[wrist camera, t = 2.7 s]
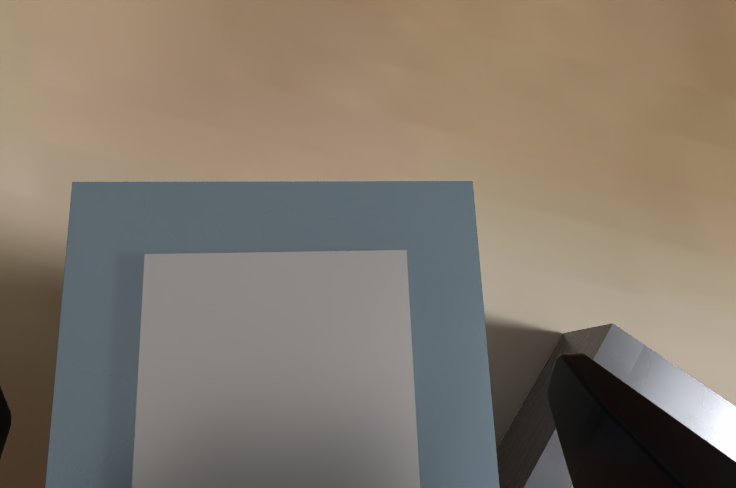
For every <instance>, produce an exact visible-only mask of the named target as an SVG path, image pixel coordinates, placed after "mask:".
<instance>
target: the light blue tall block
mask: <svg viewBox="0 0 736 488" xmlns="http://www.w3.org/2000/svg"><path fill="white" fill-rule="evenodd" d="M45 488H500V486H499V475H498V464H497V452H496V441H495V430H494V418H493V407H492V396H491V385H490V373H489V362H488V351H487V339H486V328H485V317H484V305H483V294H482V283H481V272H480V260H479V249H478V238H477V226H476V215H475V204H474V192H473V181H379V182H72V192H71V203H70V214H69V225H68V237H67V248H66V259H65V271H64V282H63V293H62V304H61V316H60V327H59V338H58V350H57V361H56V372H55V383H54V395H53V406H52V417H51V429H50V440H49V451H48V462H47V474H46V485H45Z"/></svg>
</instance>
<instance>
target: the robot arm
mask: <svg viewBox="0 0 736 488" xmlns="http://www.w3.org/2000/svg"><path fill="white" fill-rule="evenodd" d="M547 398H548V403H549V406H550V410H551V413H552V417H553V420H554V424H555V427H556V431H557V434H558V437H559V441H560V444H561V448H562V451H563V455H564V458H565V462H566V465H567V468H568V472H569V475H570V478H571V481H572V484H573V487H574V488H736V462H735V461H734V460H732V459H731V458H730V457H728V456H727V455H726V454H724V453H723V452H721V451H720V450H719V449H717V448H716V447H714V446H713V445H712V444H710V443H709V442H707V441H706V440H705V439H703V438H702V437H700V436H699V435H698V434H696V433H695V432H693V431H692V430H691V429H689V428H688V427H686V426H685V425H684V424H682V423H681V422H679V421H678V420H677V419H675V418H674V417H672V416H671V415H670V414H668V413H667V412H665V411H664V410H663V409H661V408H660V407H658V406H657V405H656V404H654V403H653V402H651V401H650V400H649V399H647V398H646V397H644V396H643V395H642V394H640V393H639V392H637V391H636V390H635V389H633V388H632V387H630V386H629V385H628V384H626V383H625V382H623V381H622V380H621V379H619V378H618V377H616V376H615V375H614V374H612V373H611V372H609V371H608V370H607V369H605V368H604V367H602V366H601V365H600V364H598V363H597V362H595V361H594V360H593V359H591V358H590V357H588V356H587V355H585V354H583V353H562V354H560V355H558V357H557V358H556V360H555V364H554V367H553V371H552V374H551V377H550V381H549V384H548V388H547ZM10 426H11V412H10V409H9V407H8V404H7V402H6V399H5V397H4V394H3V392H2V389H1V387H0V458H1V455H2V452H3V449H4V446H5V443H6V439H7V436H8V433H9V430H10Z"/></svg>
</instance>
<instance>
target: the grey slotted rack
mask: <svg viewBox="0 0 736 488" xmlns="http://www.w3.org/2000/svg"><path fill="white" fill-rule="evenodd" d="M562 353H583V354H585V355H587V356H588V357H590V358H591V359H593V360H594V361H595V362H597V363H598V364H600V365H601V366H602V367H604V368H605V369H607V370H608V371H609V372H611V373H612V374H614V375H615V376H616V377H618V378H619V379H621V380H622V381H623V382H625V383H626V384H628V385H629V386H630V387H632V388H633V389H635V390H636V391H637V392H639V393H640V394H642V395H643V396H644V397H646V398H647V399H649V400H650V401H651V402H653V403H654V404H656V405H657V406H658V407H660V408H661V409H663V410H664V411H665V412H667V413H668V414H670V415H671V416H672V417H674V418H675V419H677V420H678V421H679V422H681V423H682V424H684V425H685V426H686V427H688V428H689V429H691V430H692V431H693V432H695V433H696V434H698V435H699V436H700V437H702V438H703V439H705V440H706V441H707V442H709V443H710V444H712V445H713V446H714V447H716V448H717V449H719V450H720V451H721V452H723V453H724V454H726V455H727V456H728V457H730V458H731V459H732V460H734V461H735V462H736V407H735V406H734V405H732V404H731V403H729V402H728V401H726V400H725V399H724V398H722V397H721V396H719V395H718V394H716V393H715V392H713V391H712V390H710V389H709V388H707V387H706V386H704V385H703V384H701V383H700V382H698V381H697V380H696V379H694V378H693V377H691V376H690V375H688V374H687V373H685V372H684V371H682V370H681V369H679V368H678V367H676V366H675V365H673V364H672V363H670V362H669V361H668V360H666V359H665V358H663V357H662V356H660V355H659V354H657V353H656V352H654V351H653V350H651V349H650V348H648V347H647V346H645V345H644V344H643V343H641V342H640V341H638V340H637V339H635V338H634V337H632V336H631V335H629V334H628V333H626V332H625V331H623V330H622V329H620V328H619V327H617V326H616V325H615V324H608V325H603V326H598V327H593V328H587V329H582V330H577V331H572V332H567V333H564V334H563V336H562V337H561V339H560V341H559V343H558V344H557V346H556V348H555V350H554V351H553V353H552V355H551V357H550V358H549V360H548V362H547V364H546V366H545V367H544V369H543V371H542V373H541V374H540V376H539V378H538V380H537V381H536V383H535V385H534V387H533V388H532V390H531V392H530V394H529V395H528V397H527V399H526V401H525V403H524V404H523V406H522V408H521V410H520V411H519V413H518V415H517V417H516V418H515V420H514V422H513V424H512V425H511V427H510V429H509V431H508V432H507V434H506V436H505V438H504V439H503V441H502V443H501V445H500V447H499V448H498V450H497V464H498V475H499V486H500V488H570V487H571V486H572V481H571V478H570V475H569V472H568V468H567V465H566V462H565V458H564V455H563V451H562V448H561V444H560V441H559V437H558V434H557V431H556V427H555V424H554V420H553V417H552V413H551V410H550V406H549V403H548V398H547V388H548V384H549V381H550V377H551V374H552V371H553V367H554V364H555V360H556V358H557V357H558V355H560V354H562Z"/></svg>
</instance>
